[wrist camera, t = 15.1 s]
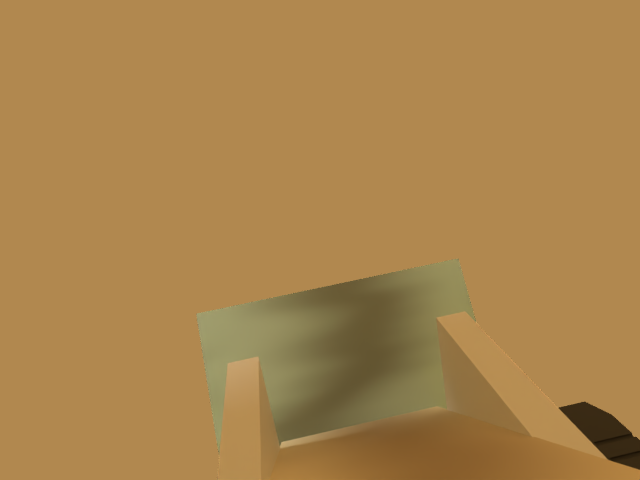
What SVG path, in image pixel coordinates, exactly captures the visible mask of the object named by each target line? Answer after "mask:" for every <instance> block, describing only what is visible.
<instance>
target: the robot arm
mask: <svg viewBox="0 0 640 480" xmlns="http://www.w3.org/2000/svg"><path fill="white" fill-rule="evenodd" d="M436 321H437V330H438V338H439V346H440V355H441V363H442V371H443V380H444V388H445V396H446V405H447V410H449V411H452V412H456V413H459V414H462V415H465V416H468V417H471V418H474V419H477V420H481V421H484V422H487V423H490V424H493V425H496V426H499V427H502V428H506V429H509V430H512V431H515V432H518V433H521V434H524V435H527V436H531V437H537V438H540V439H543V440H546V441H549V442H553V443H556V444H559V445H562V446H565V447H568V448H572V449H575V450H578V451H581V452H584V453H588V454H591V455H594V456H597V457H600V458H603V459H607V460H610V461H613V462H616V463H619V464H622V465H626V466H629V467H632V468H635V469H638V470H640V440H639V439H638V438H637V437H633V435H632V433H631V432H630V431H629V430H628V429H627V428H626V427H625V426H623V425H622V424H621V423H620V422H619V421H618V420H617V419H616V418H615V417H614V416H612V415H611V414H609V413H607V412H605V411H603V410H601V409H598V408H597V407H595V406H593V405H590V404H588V403H586V402H581V403H577V404H573V405H568V406H564V407H560V408H558V407H557V406H556V405H555V404H554V403H553V402H552V401H551V400H550V399H549V398H548V397H547V396H546V395H545V394H544V393H543V392H542V391H541V390H540V388H538V387H537V385H535V383H533V381H532V380H531V379H530V378H529V377H528V376H527V375H526V374H525V373H524V372H523V371H522V370H521V369H520V368H519V367H518V366H517V365H516V364H515V363H514V361H512V360H511V358H510V357H509V356H508V355H507V354H506V353H505V352H504V351H503V350H502V349H501V348H500V347H499V346H498V345H497V344H496V343H495V342H494V341H493V340H492V339H491V338H490V337H489V336H488V334H487V333H486V332H485V331H484V330H483V329H482V328H481V327H480V326H479V325H478V324H477V323H476V322H475V321H474V320H473V319H472V318H471V317H470V316H469V315H468V314H467V313H466V312H465V311H464V312H460V313H455V314H450V315H446V316H441V317H437V318H436ZM279 450H280V446H279V441H278V437H277V433H276V429H275V424H274V420H273V416H272V412H271V407H270V403H269V399H268V395H267V390H266V386H265V382H264V378H263V374H262V369H261V365H260V361H259V357H253V358H249V359H244V360H240V361H235V362H231V363H228V365H227V376H226V387H225V398H224V409H223V420H222V431H221V442H220V453H219V465H218V476H217V480H269V479H270V476H271V473H272V471H273V468H274V465H275V462H276V459H277V456H278V453H279Z"/></svg>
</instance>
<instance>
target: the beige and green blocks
mask: <svg viewBox="0 0 640 480" xmlns="http://www.w3.org/2000/svg"><path fill="white" fill-rule="evenodd" d="M464 311H465V312H466V313H467V314H468V315H469V316H470V317H471V318H472V319H473V320H474V321H475V322H476V320H475V316H474V313H473V309H472V306H471V302H470V298H469V295H468V292H467V288H466V284H465V281H464V277H463V274H462V270H461V267H460V263H459V259H454V260H449V261H444V262H440V263H435V264H430V265H426V266H421V267H416V268H412V269H407V270H402V271H397V272H392V273H388V274H383V275H378V276H374V277H369V278H364V279H359V280H355V281H350V282H345V283H340V284H336V285H332V286H326V287H322V288H317V289H312V290H307V291H303V292H298V293H293V294H288V295H284V296H279V297H274V298H269V299H265V300H260V301H255V302H251V303H246V304H241V305H236V306H231V307H227V308H222V309H218V310H213V311H208V312H203V313H198V314H197V321H198V327H199V334H200V340H201V346H202V352H203V359H204V365H205V371H206V377H207V383H208V390H209V396H210V402H211V408H212V414H213V421H214V427H215V433H216V439H217V446H218V452H219V453H220V442H221V431H222V420H223V409H224V398H225V387H226V376H227V365H228V363H231V362H235V361H240V360H244V359H249V358H253V357H259V361H260V365H261V369H262V374H263V378H264V382H265V386H266V390H267V395H268V399H269V403H270V407H271V412H272V416H273V420H274V424H275V429H276V433H277V437H278V441H279V446H280V450H279V453H278V456H277V459H276V462H275V465H274V468H273V471H272V473H271V476H270V479H269V480H640V470H638V469H635V468H632V467H629V466H626V465H622V464H619V463H616V462H613V461H610V460H607V459H603V458H600V457H597V456H594V455H591V454H588V453H584V452H581V451H578V450H575V449H572V448H568V447H565V446H562V445H559V444H556V443H553V442H549V441H546V440H543V439H540V438H537V437H531V436H527V435H524V434H521V433H518V432H515V431H512V430H509V429H506V428H502V427H499V426H496V425H493V424H490V423H487V422H484V421H481V420H477V419H474V418H471V417H468V416H465V415H462V414H459V413H456V412H452V411H449V410H447V405H446V396H445V388H444V380H443V371H442V363H441V355H440V346H439V338H438V330H437V321H436V318H437V317H441V316H446V315H450V314H455V313H460V312H464Z"/></svg>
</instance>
